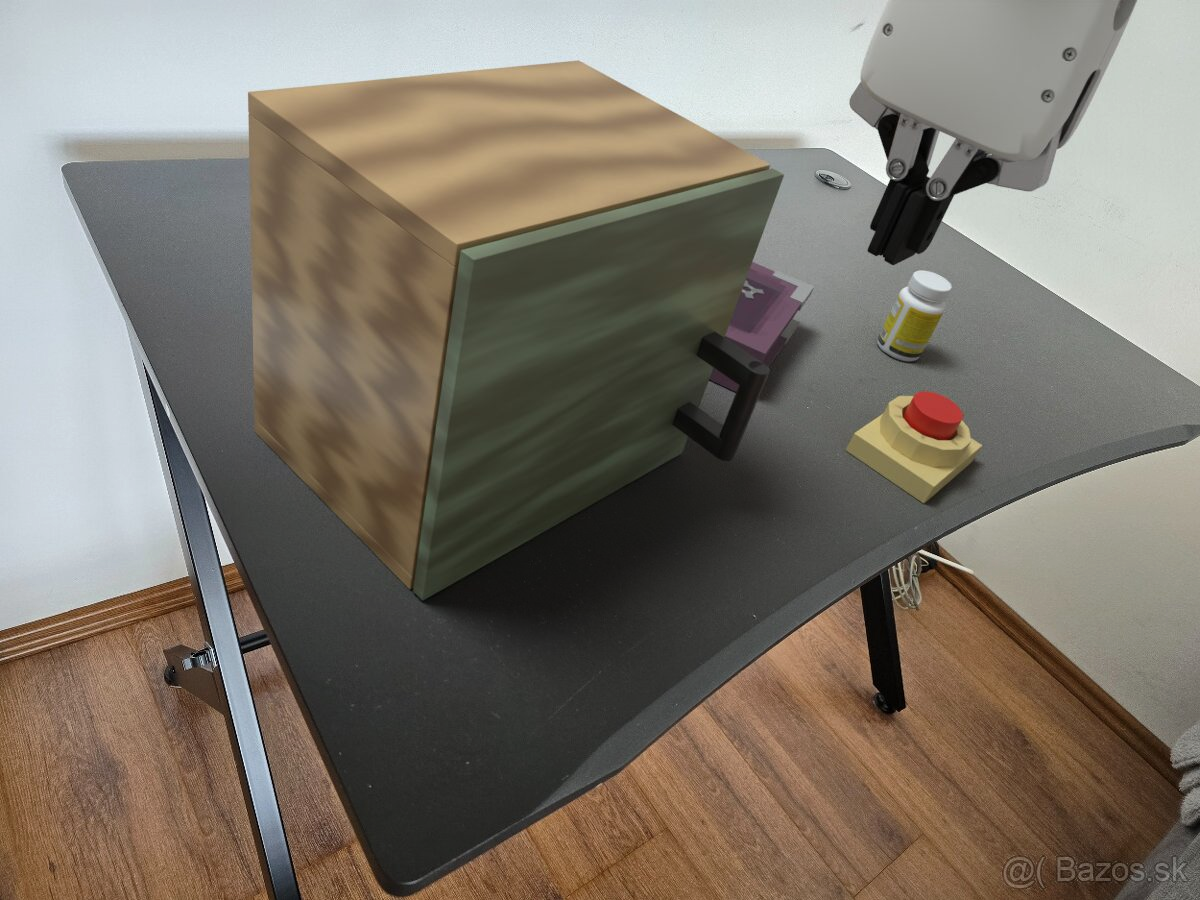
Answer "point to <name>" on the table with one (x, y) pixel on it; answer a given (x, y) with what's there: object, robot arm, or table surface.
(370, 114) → the cupboard
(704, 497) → the table surface
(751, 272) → the book
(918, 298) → the supplement bottle
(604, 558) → the table surface
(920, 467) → the button block
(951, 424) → the button
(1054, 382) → the table surface
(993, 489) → the table surface
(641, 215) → the door
